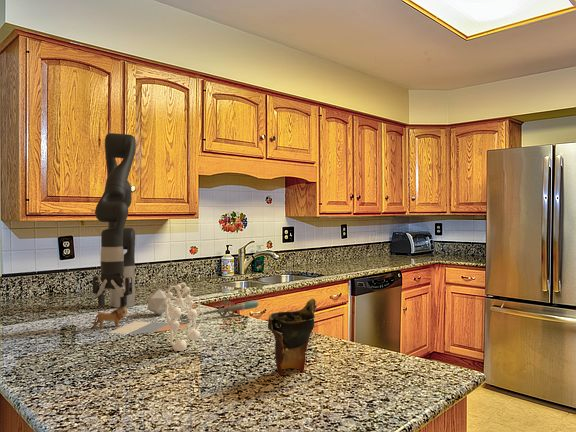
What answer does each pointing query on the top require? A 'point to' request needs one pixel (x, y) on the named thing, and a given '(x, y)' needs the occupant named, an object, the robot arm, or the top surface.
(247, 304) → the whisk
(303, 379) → the top surface
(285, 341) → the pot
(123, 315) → the lion figurine
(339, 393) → the top surface
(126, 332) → the track board
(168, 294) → the molecule model
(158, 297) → the die
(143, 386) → the top surface
